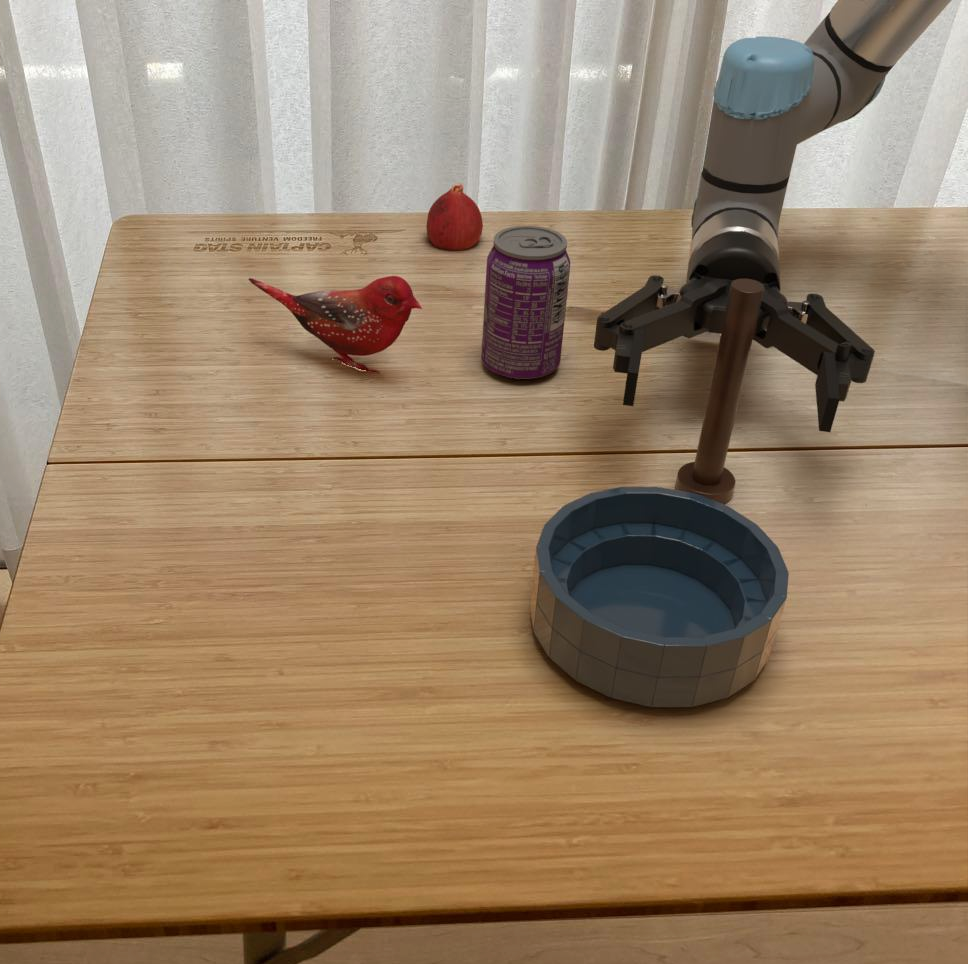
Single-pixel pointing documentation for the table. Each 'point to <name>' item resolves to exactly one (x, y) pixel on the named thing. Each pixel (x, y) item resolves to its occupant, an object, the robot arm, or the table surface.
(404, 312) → the decorative bird figurine
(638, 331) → the robot arm
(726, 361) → the stirring stick
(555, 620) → the bowl
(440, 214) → the red pomegranate
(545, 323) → the beverage can
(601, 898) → the table surface
